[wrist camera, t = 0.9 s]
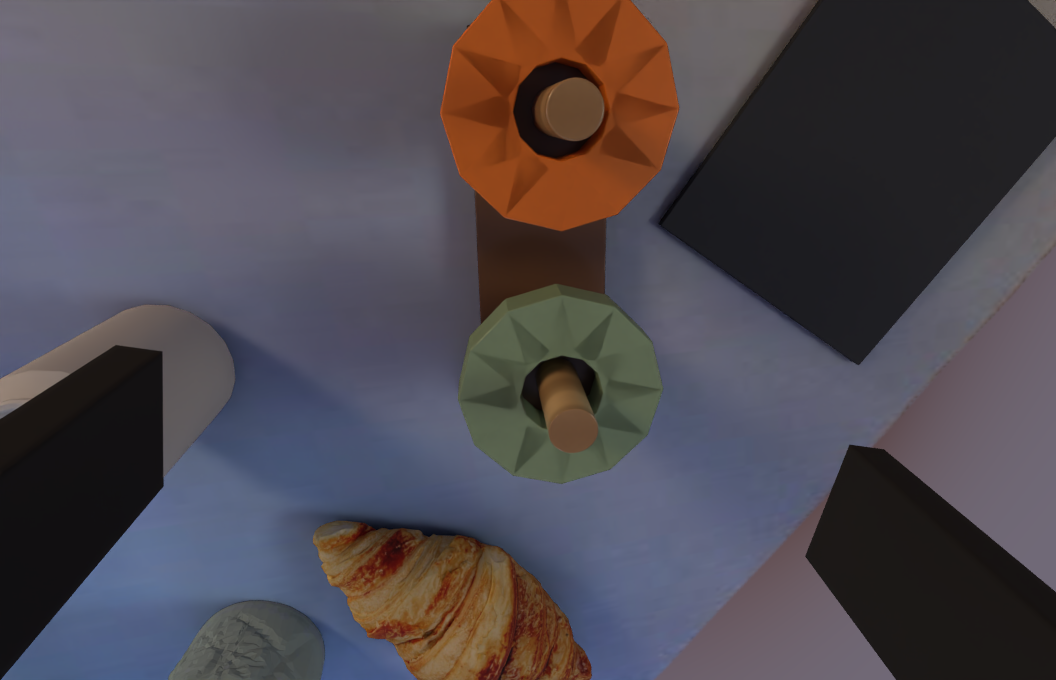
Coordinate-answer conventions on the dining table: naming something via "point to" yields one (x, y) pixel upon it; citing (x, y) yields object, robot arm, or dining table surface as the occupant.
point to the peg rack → (548, 246)
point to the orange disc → (605, 60)
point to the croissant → (450, 604)
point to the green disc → (544, 333)
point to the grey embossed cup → (254, 645)
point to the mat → (872, 157)
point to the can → (188, 369)
